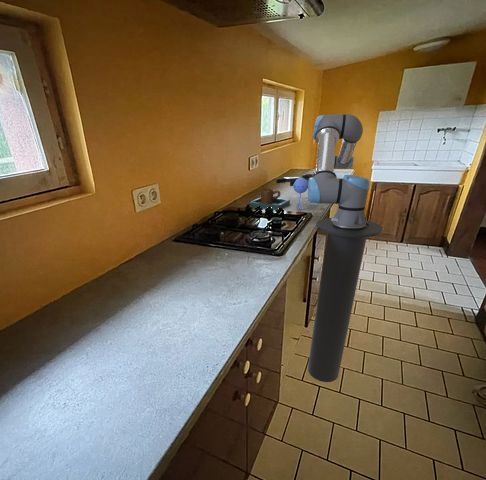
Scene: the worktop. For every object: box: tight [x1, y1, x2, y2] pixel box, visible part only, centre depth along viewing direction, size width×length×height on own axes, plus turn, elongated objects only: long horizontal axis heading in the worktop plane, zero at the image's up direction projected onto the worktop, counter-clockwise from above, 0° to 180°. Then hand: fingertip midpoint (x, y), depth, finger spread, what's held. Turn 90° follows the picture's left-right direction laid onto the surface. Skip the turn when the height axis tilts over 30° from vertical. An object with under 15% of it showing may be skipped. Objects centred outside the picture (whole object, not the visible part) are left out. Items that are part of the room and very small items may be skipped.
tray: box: [249, 197, 291, 211], centre depth 192 cm, size 20×18×3 cm
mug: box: [260, 188, 281, 204], centre depth 189 cm, size 12×8×9 cm, turn 75°
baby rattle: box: [292, 178, 308, 211], centre depth 177 cm, size 9×9×18 cm
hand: (283, 182), depth 190 cm, fingers open, 13 cm apart
